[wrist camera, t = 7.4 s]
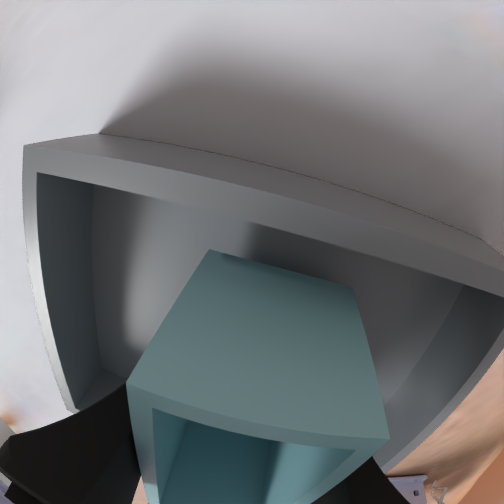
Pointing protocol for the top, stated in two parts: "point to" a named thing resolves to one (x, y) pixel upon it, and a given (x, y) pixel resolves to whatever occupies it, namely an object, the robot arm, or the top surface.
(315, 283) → the teal mini crate
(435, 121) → the top surface
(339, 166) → the top surface
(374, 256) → the grey crate
